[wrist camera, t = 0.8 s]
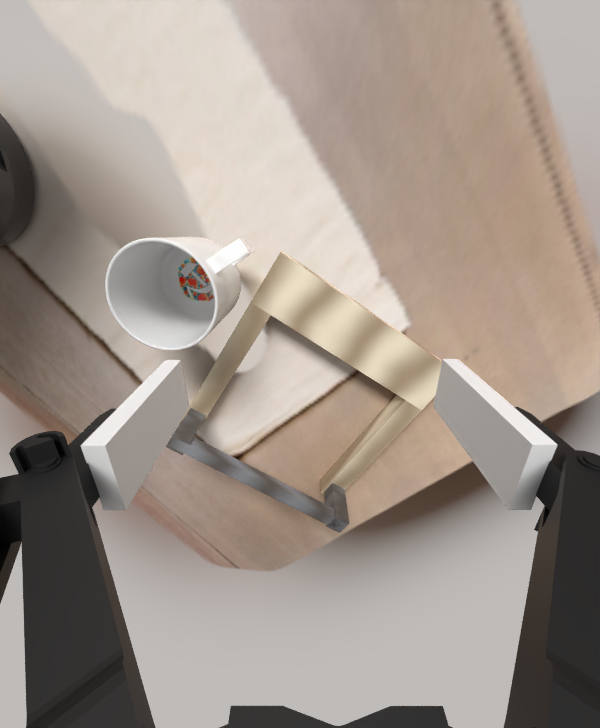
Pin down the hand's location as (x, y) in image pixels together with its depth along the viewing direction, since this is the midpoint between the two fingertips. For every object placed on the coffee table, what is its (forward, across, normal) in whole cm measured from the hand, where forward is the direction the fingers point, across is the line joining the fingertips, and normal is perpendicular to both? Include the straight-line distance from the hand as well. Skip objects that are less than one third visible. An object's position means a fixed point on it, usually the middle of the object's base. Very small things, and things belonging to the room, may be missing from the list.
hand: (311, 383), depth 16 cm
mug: (+22, -10, +3) cm, 24 cm away
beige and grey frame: (+21, +1, -12) cm, 24 cm away
